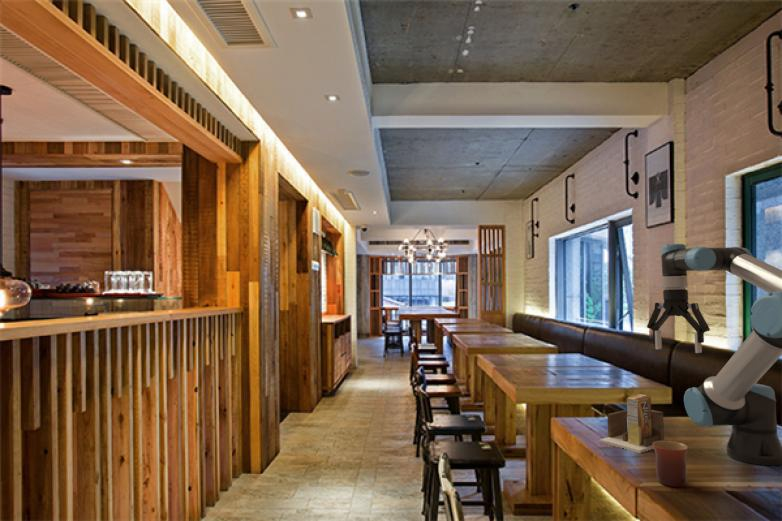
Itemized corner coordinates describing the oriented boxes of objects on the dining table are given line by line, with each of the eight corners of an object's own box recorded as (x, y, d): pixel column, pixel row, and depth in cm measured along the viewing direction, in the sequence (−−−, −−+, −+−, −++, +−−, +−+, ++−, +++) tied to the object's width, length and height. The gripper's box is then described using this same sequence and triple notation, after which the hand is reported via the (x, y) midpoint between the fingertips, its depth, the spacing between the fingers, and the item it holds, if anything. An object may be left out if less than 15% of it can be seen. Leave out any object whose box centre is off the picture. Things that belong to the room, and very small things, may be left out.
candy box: (640, 438, 181) (638, 393, 182) (652, 441, 177) (651, 395, 178) (627, 443, 175) (625, 397, 176) (640, 446, 172) (638, 399, 173)
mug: (686, 492, 136) (684, 452, 137) (650, 484, 142) (648, 446, 142) (694, 478, 145) (693, 441, 146) (660, 471, 151) (659, 436, 152)
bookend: (664, 445, 176) (663, 412, 177) (647, 450, 171) (646, 416, 171) (638, 438, 184) (637, 407, 184) (621, 443, 179) (620, 411, 179)
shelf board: (665, 445, 176) (665, 442, 176) (639, 453, 168) (639, 450, 168) (625, 435, 188) (625, 432, 188) (599, 442, 180) (599, 439, 180)
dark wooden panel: (627, 435, 187) (626, 410, 188) (610, 440, 182) (609, 414, 182) (625, 435, 188) (624, 410, 189) (608, 439, 183) (607, 414, 183)
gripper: (719, 288, 170) (722, 353, 169) (646, 288, 191) (649, 346, 190) (707, 288, 166) (710, 355, 165) (635, 289, 187) (637, 348, 186)
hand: (678, 350), depth 178 cm, fingers open, 13 cm apart
